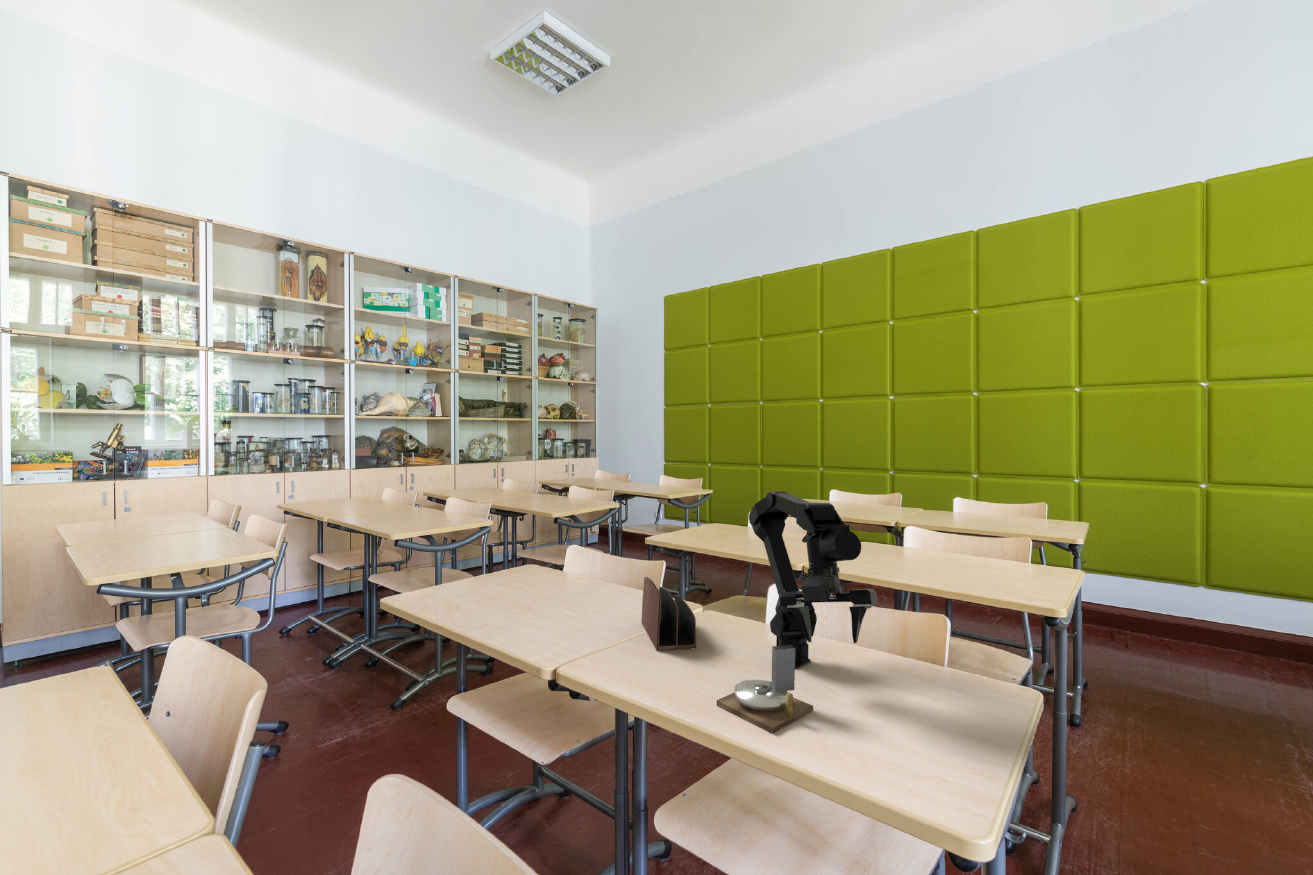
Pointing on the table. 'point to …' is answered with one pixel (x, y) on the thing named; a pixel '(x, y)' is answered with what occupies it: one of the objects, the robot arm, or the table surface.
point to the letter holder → (667, 619)
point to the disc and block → (770, 683)
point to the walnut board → (767, 712)
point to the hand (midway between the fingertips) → (832, 642)
